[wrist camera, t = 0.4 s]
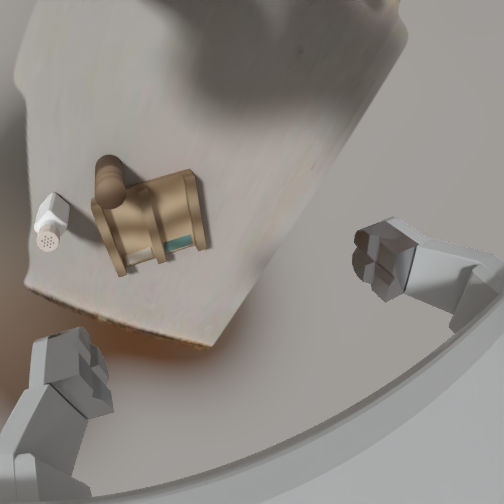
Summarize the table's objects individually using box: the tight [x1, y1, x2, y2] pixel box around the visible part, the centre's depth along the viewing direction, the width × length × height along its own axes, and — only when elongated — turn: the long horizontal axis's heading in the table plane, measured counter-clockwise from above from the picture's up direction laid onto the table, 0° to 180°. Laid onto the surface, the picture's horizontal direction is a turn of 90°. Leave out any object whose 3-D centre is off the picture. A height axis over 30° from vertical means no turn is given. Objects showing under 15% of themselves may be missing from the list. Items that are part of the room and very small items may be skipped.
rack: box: [91, 169, 207, 277], centre depth 48 cm, size 14×16×3 cm
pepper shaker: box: [34, 192, 70, 252], centre depth 36 cm, size 4×4×10 cm
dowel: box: [95, 155, 126, 209], centre depth 37 cm, size 4×4×9 cm
